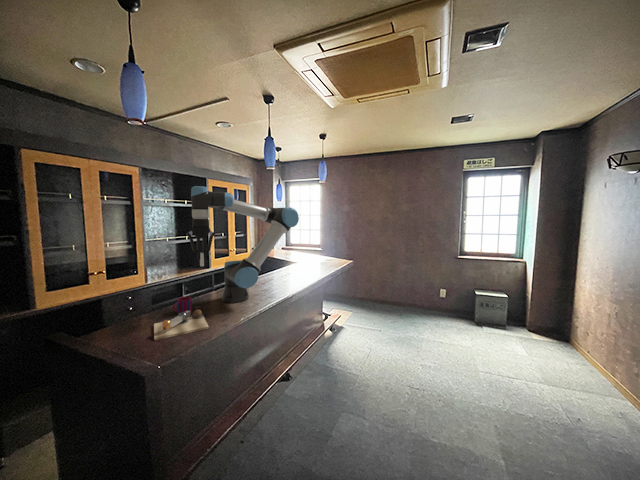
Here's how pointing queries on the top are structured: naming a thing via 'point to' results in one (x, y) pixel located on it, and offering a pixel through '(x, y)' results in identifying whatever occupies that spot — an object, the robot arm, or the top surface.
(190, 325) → the press base
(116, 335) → the top surface
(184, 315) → the lever
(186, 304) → the mug
